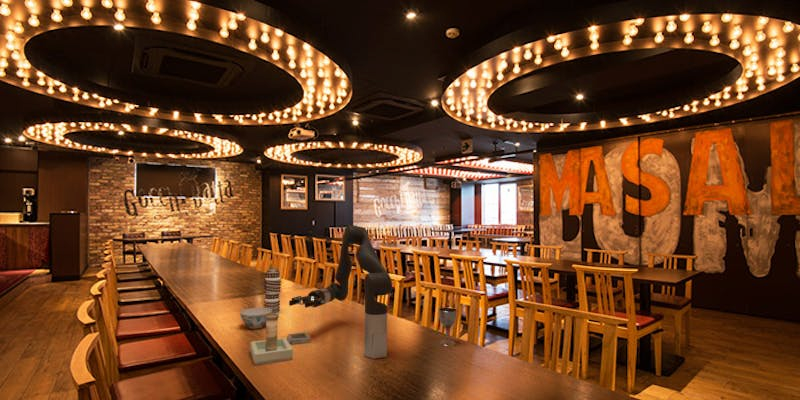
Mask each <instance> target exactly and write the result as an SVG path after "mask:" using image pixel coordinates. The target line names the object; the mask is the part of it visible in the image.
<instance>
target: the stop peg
mask: <svg viewBox="0 0 800 400" xmlns="http://www.w3.org/2000/svg"><path fill="white" fill-rule="evenodd" d="M279 317H280V316H279V314H268V315H266V323H265V340H266V346H265V352H268V351H275V350H277V339H278V325H279V324H278V321H279Z"/></svg>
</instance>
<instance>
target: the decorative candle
mask: <svg viewBox="0 0 800 400" xmlns="http://www.w3.org/2000/svg"><path fill="white" fill-rule="evenodd" d="M280 273H281V271H280V270H279V269H278V268H268V269H267V270H266V271H265V279H264V283H263V284H264V285H263V286H264V295H265V298H264V302H263V303H264V304H263V306H264V307H263V308H269V309H271V310H272V313H271V314H278V315H279V314H280V311H281V310H280V309H281V307H280V305H281V303H280V302H281V301H280V300H281V299H280V293H281V290H280V289H281V285H282V281H281V277H280V276H281V275H280Z"/></svg>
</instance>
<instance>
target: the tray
mask: <svg viewBox="0 0 800 400" xmlns="http://www.w3.org/2000/svg"><path fill="white" fill-rule="evenodd" d="M265 346H266V339H264V340H255V341H250V355H251V358H252V362H253V365H254V366H259V365H260V366H261V365H267V364H271V363H272V364H273V363H280V362H287V361H293V357H294V356H293V354H294V353H293V351H294V350H293V348H292V346H291V344H289V342H288V341H287V337H280V338H278V337H277V350H275V351H268V352H265Z"/></svg>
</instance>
